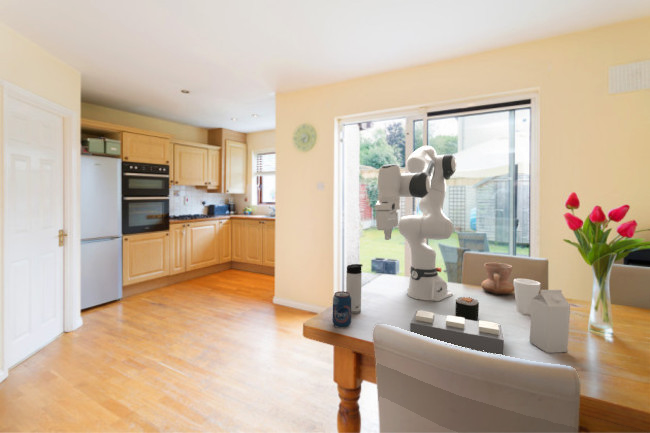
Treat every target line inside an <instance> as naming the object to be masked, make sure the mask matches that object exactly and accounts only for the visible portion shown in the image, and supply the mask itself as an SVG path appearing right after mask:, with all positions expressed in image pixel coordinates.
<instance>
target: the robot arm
mask: <svg viewBox="0 0 650 433" xmlns="http://www.w3.org/2000/svg"><path fill="white" fill-rule="evenodd" d="M400 169H401V168H400V165H399V164H398V163H397V164H396V163H392V164H391V163H389V164H388V163H387V164H383V165H381V166H380V167H379V169H378V176H377V188H378V193H377V201H376V203H375V204H374V210H375V211H376V212H375V213H376V214H375V220H376V230H377V231H383V234H384V240H385V241H389V240H391V238H392V232H393V229H394V228H396V227H397V229H398V231H399V233H400V235H401V236H402V237H403V238H404V239H405V240H406V241H407V243H408V244H409V248H410V252H411V253H410V254H411V265H410V269H409V270H410V277H409V282H408V284H409V285H408V288H407V296H408V297H410V298H412V299H417V300H421V301H433V302H440V301H442V300H444V299H447V298H449V297H452V296H453V292H451V291H450V290H448V283H447V282H446V280H444V279H443V278H442V277H441V276H440V275H439V274H438V273H442V267H436V263H437V258H436V256H437V254H436V251H435V250H434V249H433V248H432V247H431V246H429V245H428V244H427V243H426V242H425V239H427V240H437V241H441V240H448V239H450V238H451V236H452V235H453V232H454V225H453V222H452V221H451V219H450V218H448V217H447V216H446V215H445V214H444V212H443V209H444V203H445V198H446V193H447V192H446V191H447V183H446V180H447V181H448V180H449V179H451V177H452V176H453V175H454V174H455V172H456V170H457V161H456V157H455V156H454V155H453V154H441V155H439V154H438V155H437V151H436V150H435V148H434V147H433V146H430V145H424V146H421V147H419V148H417V149H416V150H415V151H414V152H412V153H411V154H410V155H409V156H408V159H407V160H406V169H407V170H408V172H407V173H402V172H401V170H400ZM401 197H402V198H403V197H404V198H420V200H419V202H418V206H419V209H420V211H421V212H422V213H424V215H416V214H415V215H405V216H402V217H401V218H400V219H399V210H401Z"/></svg>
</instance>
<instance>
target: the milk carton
mask: <svg viewBox="0 0 650 433" xmlns="http://www.w3.org/2000/svg"><path fill="white" fill-rule="evenodd" d="M570 313H571V305H570V303H569V301H568V300H567V298H566V297H565V296H564V295H563V293H562V289H540V293H539V294H538V295H537V296H535V297H534V298H532V308H531V315H530V327H529V328H530V329H529V331H530V332H529V343H530V344H532V345H533V346H535V347H537V348H538V349H540V350H542V351H544V352H545V353H546V354H547V353H567V352H568V346H569V345H568V344H569V332H570V331H569V330H570Z"/></svg>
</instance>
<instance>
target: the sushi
mask: <svg viewBox="0 0 650 433" xmlns="http://www.w3.org/2000/svg"><path fill="white" fill-rule="evenodd" d="M479 304H480V302H479V301H478V299H475V298H473V297H470V296H469V297H468V296H467V297H465V296H463V297H462V296H459V297H457V298H456V299H455V310H454V312H455V313H454V316H456V317H462V318H465V319H467V320H473V321H479Z"/></svg>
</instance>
